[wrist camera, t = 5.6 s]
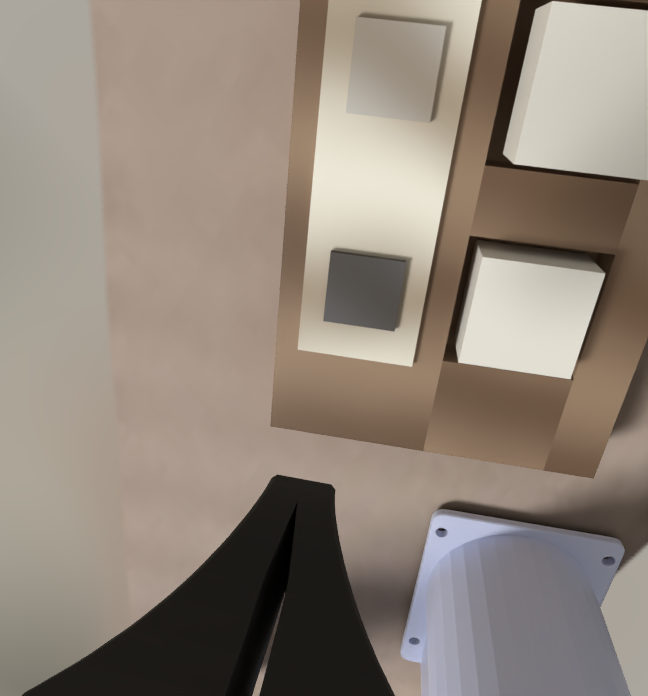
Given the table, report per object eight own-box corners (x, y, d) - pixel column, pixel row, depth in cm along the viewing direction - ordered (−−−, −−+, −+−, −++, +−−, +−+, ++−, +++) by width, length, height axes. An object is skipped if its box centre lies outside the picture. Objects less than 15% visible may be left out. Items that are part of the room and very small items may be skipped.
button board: (579, 446, 23) (596, 485, 21) (281, 399, 24) (268, 432, 22) (942, -558, 12) (1060, -697, 10) (356, -574, 13) (345, -704, 11)
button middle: (632, 169, 16) (659, 182, 15) (502, 153, 17) (513, 164, 15) (679, 23, 15) (716, 17, 13) (535, 8, 15) (552, 1, 13)
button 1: (556, 352, 20) (570, 379, 19) (454, 337, 21) (458, 362, 19) (587, 254, 19) (605, 273, 17) (475, 239, 19) (482, 256, 17)
